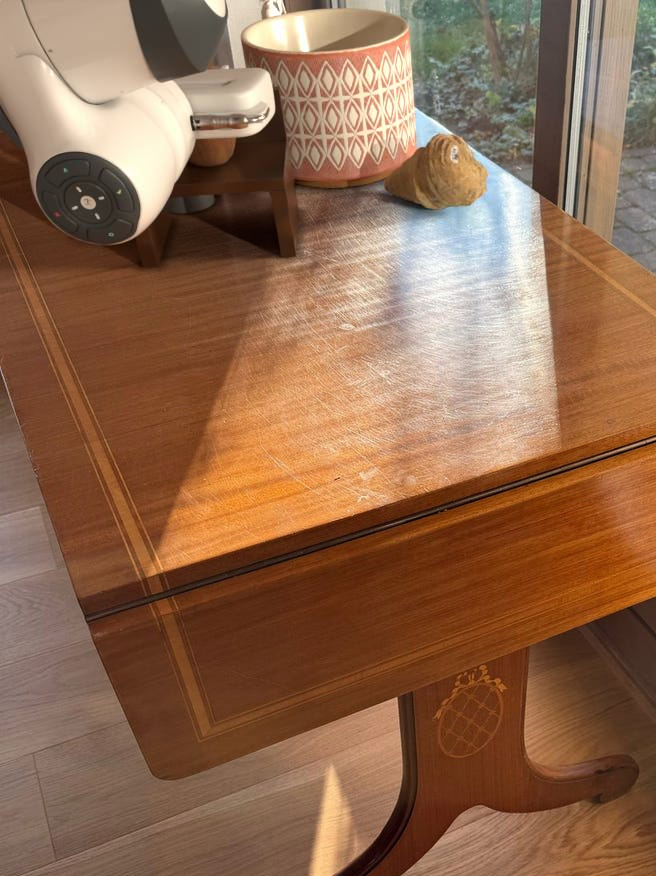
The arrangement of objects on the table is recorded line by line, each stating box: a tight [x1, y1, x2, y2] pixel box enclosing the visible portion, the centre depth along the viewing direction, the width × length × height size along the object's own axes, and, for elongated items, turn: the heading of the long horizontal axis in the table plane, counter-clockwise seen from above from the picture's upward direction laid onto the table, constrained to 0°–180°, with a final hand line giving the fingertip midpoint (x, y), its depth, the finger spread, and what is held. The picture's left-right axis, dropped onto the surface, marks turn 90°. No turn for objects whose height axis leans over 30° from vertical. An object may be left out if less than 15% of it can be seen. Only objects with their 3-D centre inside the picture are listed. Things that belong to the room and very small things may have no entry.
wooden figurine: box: [187, 58, 236, 167], centre depth 96 cm, size 7×6×15 cm
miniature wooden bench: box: [134, 86, 300, 268], centre depth 103 cm, size 16×12×13 cm
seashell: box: [383, 132, 489, 211], centre depth 110 cm, size 14×8×8 cm
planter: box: [240, 7, 418, 189], centre depth 117 cm, size 19×19×15 cm
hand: (171, 76), depth 90 cm, fingers open, 8 cm apart
